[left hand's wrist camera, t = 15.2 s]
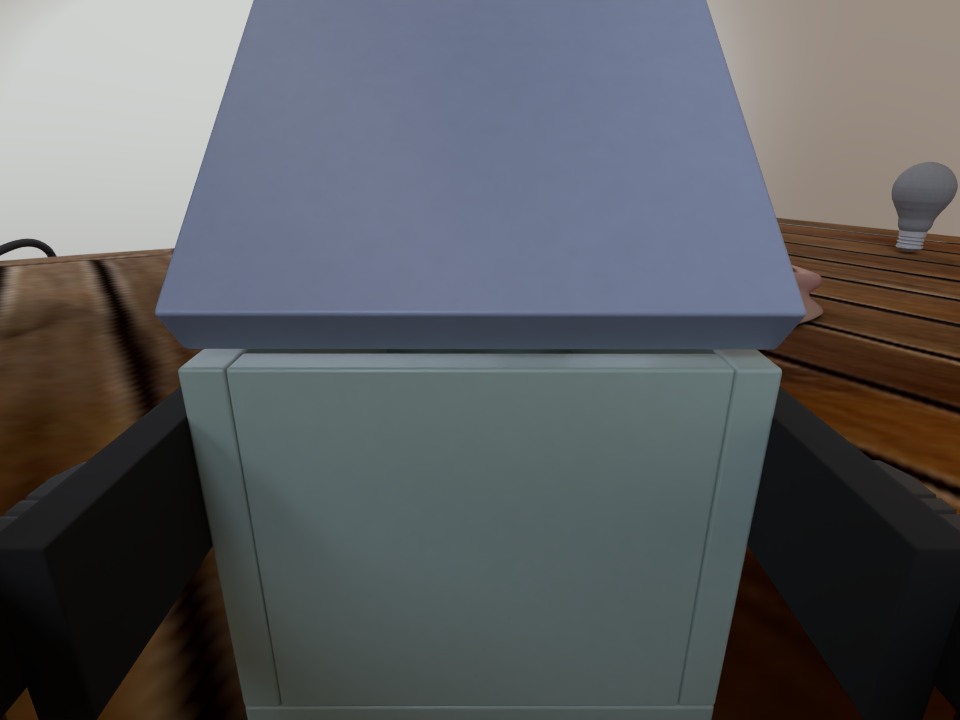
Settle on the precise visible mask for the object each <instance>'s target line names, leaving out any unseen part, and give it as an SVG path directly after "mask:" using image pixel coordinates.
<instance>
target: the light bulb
mask: <svg viewBox="0 0 960 720" xmlns="http://www.w3.org/2000/svg"><path fill="white" fill-rule="evenodd" d="M957 186H958V184H957V179H956V177H955V175H954V173H953V172H952V171H951V170H950V169H949V168H948V167H947V166H945V165H943V164H939V163H935V162H926V163H921V164H917V165H914V166H912V167H910V168H908V169H907V170H906V171H904V172H903V173H902V174H901V175H900V176H899V177H898V178H897V180H896V181H895V183H894V185H893V188H892V200H893V202H894V206H895V208H896V210H897V214H898V217H899V219H898V227H899V229H900V230H899V235H900V236H898V238H899V239H898V240H897V241H898V243H896V247H898V248H899V249H901V250H902V251H906V252H914V251H917V250H920V249H922V248H923V246H922V245H923V243H922V242H923V241H925V240H923V238H925V237H926V234H927V231H928V230H929V229H930V228H931V227H932V225H933V222H934V220H935V219H936V217H937V216H938V215H939V214H940V213H941V212H942V211H943V210H944V209H945V208H946V207H947V206H948V204H949V203H950V202H951V201H952V199H953V198H954V196H955V194H956V191H957V188H958V187H957Z"/></svg>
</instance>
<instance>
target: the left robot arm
mask: <svg viewBox="0 0 960 720" xmlns="http://www.w3.org/2000/svg"><path fill="white" fill-rule="evenodd" d="M21 247H36V248H39V249H41V250H42V251H43V252H44V253H45V254H46V255H47V257H57V256H56V254H55V252H54V251H53V250H52V249H51V248H50V247H49V246H48V245H47V244H45V243H43V242H41V241H39V240H35V239H20V240H15V241H12V242H9V243H6V244H3V245H1V246H0V255H2V254H4V253H7V252H9V251H11V250H14V249H17V248H21ZM747 545H748V547H749V548H750V550H751V551H752V553H753V554H754V556H755V557H756V559H757V560H758V562H759V563H760V565H761V566H762V568H763V569H764V571H765V572H766V574H767V575H768V577H769V578H770V580H771V581H772V583H773V584H774V586H775V587H776V589H777V590H778V592H779V593H780V595H781V596H782V598H783V599H784V601H785V602H786V603H787V605H788V606H789V608H790V609H791V611H792V612H793V614H794V615H795V617H796V618H797V620H798V621H799V623H800V624H801V626H802V627H803V629H804V630H805V632H806V633H807V635H808V636H809V638H810V639H811V641H812V642H813V644H814V645H815V647H816V648H817V650H818V651H819V653H820V654H821V656H822V657H823V659H824V660H825V662H826V663H827V665H828V666H829V668H830V669H831V671H832V672H833V674H834V675H835V677H836V678H837V680H838V681H839V683H840V684H841V686H842V687H843V689H844V690H845V692H846V693H847V695H848V696H849V698H850V699H851V701H852V702H853V704H854V705H855V707H856V708H857V710H858V711H859V713H860V714H861V716H862V717H863V719H864V720H922V718H923V716H924V713H925V710H926V707H927V704H928V702H929V699H930V696H931V693H932V690H933V688H934V685H935V686H936V687H937V688H938V689H939V691H940V692H941V693H942V694H943V695H944V697H945V698H946V699H947V700H948V701H949V702H950V704H951V705H952V706H953V707H954V708H955V710H956V712H955V715H954V718H953V720H960V514H957V513H956V510H955V509H954V508H952V507H951V506H950V505H949V504H947V503H946V502H945V501H943V500H942V499H941V498H936V495H935V494H934V493H933V492H932V491H930V490H929V489H928V488H926V487H925V486H924V485H922V484H921V483H920V482H919V481H917V480H916V479H915V478H913V477H912V476H910V475H908V474H906V473H904V472H902V471H900V470H898V469H896V468H894V467H892V466H890V465H887V464H885V463H883V462H881V461H872V460H871V459H870V458H868V457H867V456H866V455H865V454H863V453H862V452H861V451H860V450H858V449H857V448H856V447H855V446H853V445H852V444H851V443H850V442H848V441H847V440H846V439H845V438H843V437H842V436H841V435H840V434H838V433H837V432H836V431H835V430H833V429H832V428H831V427H830V426H828V425H827V424H826V423H825V422H824V421H822V420H821V419H820V418H819V417H817V416H816V415H815V414H814V413H812V412H811V411H810V410H809V409H807V408H806V407H805V406H804V405H802V404H801V403H800V402H799V401H797V400H796V399H795V398H794V397H792V396H791V395H790V394H789V393H787V392H786V391H785V390H784V389H782V388H781V387H780V386H779V391H778V396H777V400H776V405H775V410H774V415H773V420H772V424H771V429H770V434H769V439H768V444H767V449H766V454H765V459H764V464H763V469H762V474H761V479H760V484H759V489H758V494H757V499H756V504H755V508H754V513H753V518H752V523H751V528H750V533H749V538H748V543H747ZM212 546H213V544H212V539H211V534H210V529H209V524H208V519H207V514H206V509H205V504H204V499H203V494H202V489H201V484H200V479H199V474H198V469H197V464H196V459H195V454H194V449H193V444H192V439H191V434H190V429H189V424H188V419H187V413H186V408H185V403H184V398H183V393H182V388H181V387H179V388H178V389H177V390H176V391H174V392H173V393H172V394H171V395H169V396H168V397H167V398H166V399H164V400H163V401H162V402H161V403H159V404H158V405H157V406H156V407H154V408H153V409H152V410H151V411H150V412H148V413H147V414H146V415H145V416H143V417H142V418H141V419H140V420H138V421H137V422H136V423H135V424H133V425H132V426H131V427H130V428H128V429H127V430H126V431H125V432H123V433H122V434H121V435H120V436H118V437H117V438H116V439H115V440H113V441H112V442H111V443H110V444H109V445H107V446H106V447H105V448H104V449H102V450H101V451H100V452H99V453H97V454H96V455H95V456H94V457H92V458H91V459H90V460H89V461H87V462H86V463H80V464H78V465H76V466H74V467H72V468H70V469H68V470H66V471H64V472H62V473H60V474H58V475H55V476H53V477H51V478H49V479H48V480H47V481H46V482H44V483H43V484H42V485H40V486H39V487H38V488H37V489H35V490H34V491H33V492H31V493H30V494H29V495H27V496H26V499H25V501H20V502H18V503H17V504H16V505H15V506H13V507H12V508H11V509H9V510H8V511H7V512H5V517H0V720H7V718H6V715H5V713H6V712H7V710H8V709H9V708H10V707H11V706H12V704H13V703H14V702H15V701H16V700H17V698H18V697H19V696H20V695H21V694H22V692H23V691H24V690H25V689H26V688H28V691H29V694H30V696H31V699H32V702H33V705H34V708H35V710H36V713H37V716H38V719H39V720H97V718H98V717H99V715H100V714H101V712H102V711H103V709H104V708H105V706H106V705H107V703H108V702H109V700H110V699H111V697H112V696H113V694H114V693H115V691H116V690H117V688H118V687H119V685H120V684H121V682H122V681H123V679H124V678H125V676H126V675H127V673H128V672H129V670H130V669H131V667H132V666H133V664H134V663H135V661H136V660H137V658H138V657H139V655H140V654H141V652H142V651H143V649H144V648H145V646H146V645H147V643H148V642H149V640H150V639H151V637H152V636H153V634H154V633H155V631H156V630H157V628H158V627H159V625H160V624H161V622H162V621H163V619H164V618H165V616H166V615H167V613H168V612H169V610H170V609H171V607H172V606H173V604H174V603H175V601H176V600H177V598H178V597H179V595H180V594H181V592H182V591H183V589H184V588H185V586H186V585H187V583H188V582H189V580H190V579H191V577H192V576H193V574H194V573H195V571H196V570H197V568H198V567H199V565H200V564H201V562H202V561H203V559H204V558H205V556H206V555H207V553H208V552H209V550H210V549H211V547H212Z"/></svg>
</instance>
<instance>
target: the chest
mask: <svg viewBox="0 0 960 720" xmlns="http://www.w3.org/2000/svg"><path fill="white" fill-rule="evenodd" d="M178 373H179V378H180V383H181V388H182V393H183V398H184V403H185V408H186V413H187V419H188V424H189V429H190V434H191V439H192V444H193V449H194V454H195V459H196V464H197V469H198V474H199V479H200V484H201V489H202V494H203V499H204V504H205V509H206V514H207V519H208V524H209V529H210V534H211V539H212V544H213V549H214V554H215V559H216V564H217V569H218V574H219V579H220V584H221V589H222V594H223V599H224V605H225V610H226V615H227V620H228V625H229V630H230V635H231V640H232V645H233V650H234V655H235V660H236V665H237V670H238V675H239V680H240V685H241V690H242V695H243V700H244V704H245V705H246V713H247V718H248V720H711V719H712V714H713V709H714V706H713V704H715V700H716V695H717V690H718V685H719V680H720V676H721V671H722V666H723V661H724V656H725V651H726V646H727V641H728V636H729V631H730V626H731V621H732V617H733V612H734V607H735V602H736V597H737V592H738V587H739V582H740V577H741V572H742V567H743V563H744V558H745V553H746V548H747V543H748V538H749V533H750V528H751V523H752V518H753V513H754V508H755V504H756V499H757V494H758V489H759V484H760V479H761V474H762V469H763V464H764V459H765V454H766V449H767V444H768V439H769V434H770V429H771V424H772V420H773V415H774V410H775V405H776V400H777V396H778V391H779V386H780V381H781V376H782V370H781V368H779V367H778V366H777V365H775V364H774V363H773V362H772V361H770V360H769V359H768V358H766V357H765V356H764V355H763V354H761V353H760V352H759V351H757V350H756V349H203V350H202V351H201V352H200V353H198V354H197V355H196V356H194V357H193V358H192V359H191V360H189V361H188V362H187V363H186V364H184V365H183V366H182V367H180V368H179V371H178Z"/></svg>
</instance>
